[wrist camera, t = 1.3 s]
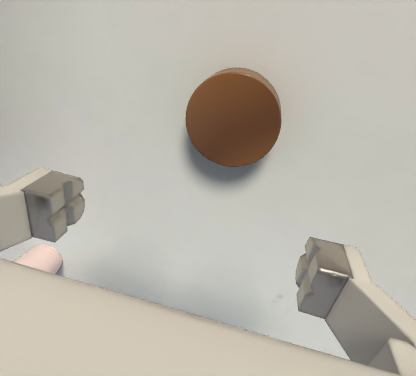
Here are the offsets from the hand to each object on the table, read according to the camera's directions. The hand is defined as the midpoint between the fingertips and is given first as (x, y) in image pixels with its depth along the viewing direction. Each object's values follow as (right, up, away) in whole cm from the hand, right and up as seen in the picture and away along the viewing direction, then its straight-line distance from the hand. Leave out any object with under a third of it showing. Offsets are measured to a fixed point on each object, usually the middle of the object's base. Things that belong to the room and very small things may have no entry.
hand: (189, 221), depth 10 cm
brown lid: (+3, +7, +12) cm, 14 cm away
